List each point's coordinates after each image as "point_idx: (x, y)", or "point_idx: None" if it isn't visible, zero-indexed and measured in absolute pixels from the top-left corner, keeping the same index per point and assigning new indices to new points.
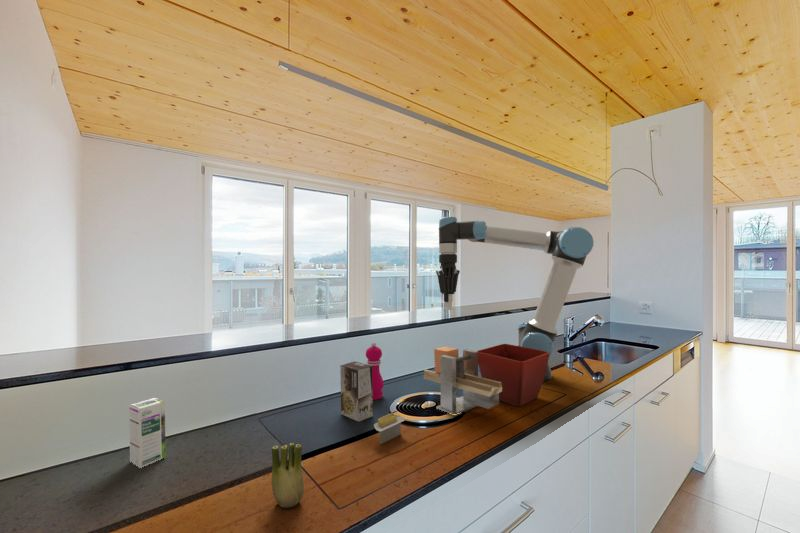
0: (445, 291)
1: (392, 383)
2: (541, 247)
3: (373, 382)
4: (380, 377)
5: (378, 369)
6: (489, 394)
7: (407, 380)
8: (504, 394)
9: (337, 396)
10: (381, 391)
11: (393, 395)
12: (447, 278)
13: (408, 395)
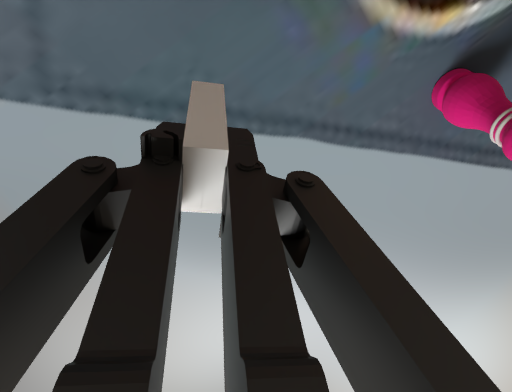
0: (314, 179)
1: (344, 122)
2: None
3: (503, 90)
4: (488, 89)
5: (505, 102)
6: None
7: (302, 108)
8: None
9: (474, 151)
10: (453, 80)
11: (426, 57)
12: (304, 351)
13: (411, 23)
